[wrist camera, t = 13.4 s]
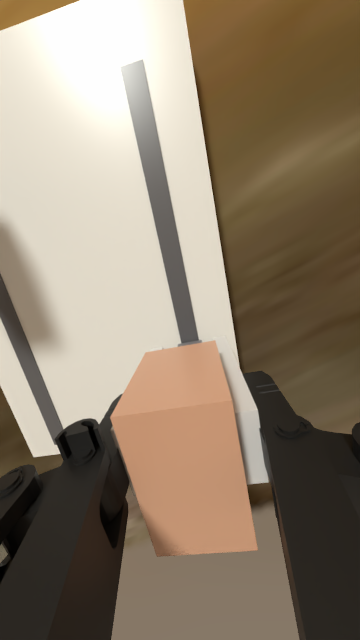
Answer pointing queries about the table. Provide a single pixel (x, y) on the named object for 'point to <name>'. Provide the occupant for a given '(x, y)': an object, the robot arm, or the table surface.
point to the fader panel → (100, 209)
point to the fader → (185, 452)
